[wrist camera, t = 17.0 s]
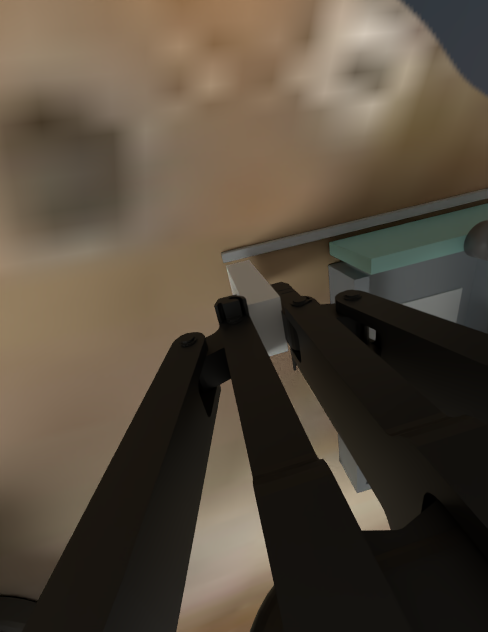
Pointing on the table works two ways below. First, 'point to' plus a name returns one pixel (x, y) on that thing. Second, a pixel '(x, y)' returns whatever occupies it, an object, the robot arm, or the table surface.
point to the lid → (417, 241)
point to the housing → (402, 283)
